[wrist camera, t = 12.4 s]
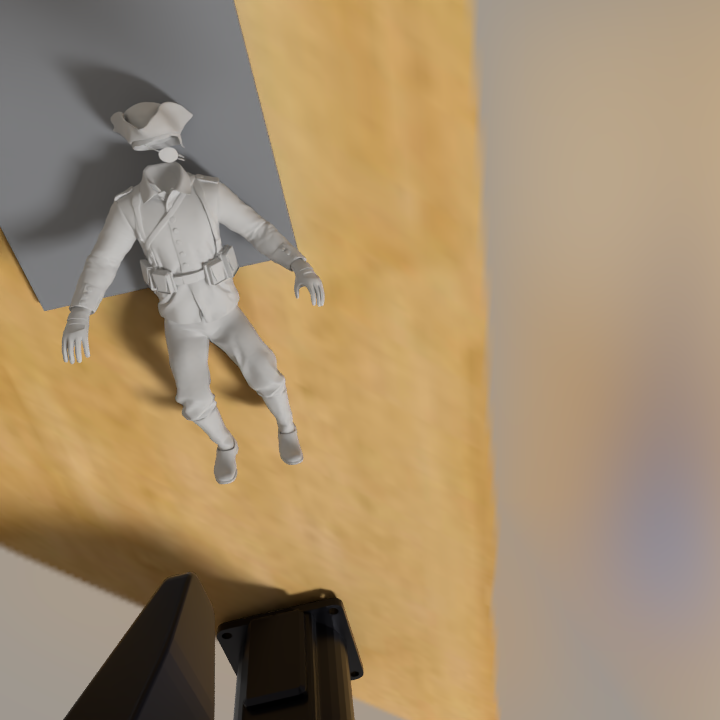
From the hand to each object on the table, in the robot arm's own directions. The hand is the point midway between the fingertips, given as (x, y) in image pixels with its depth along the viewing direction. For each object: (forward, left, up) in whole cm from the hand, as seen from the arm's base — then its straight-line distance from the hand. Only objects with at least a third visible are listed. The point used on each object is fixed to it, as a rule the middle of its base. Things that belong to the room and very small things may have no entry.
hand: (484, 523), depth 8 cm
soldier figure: (-6, +7, -12) cm, 15 cm away
